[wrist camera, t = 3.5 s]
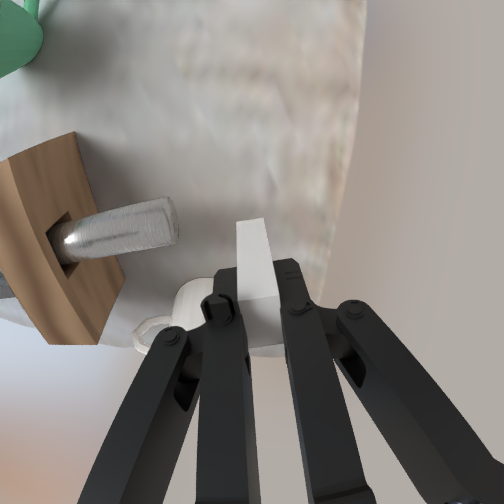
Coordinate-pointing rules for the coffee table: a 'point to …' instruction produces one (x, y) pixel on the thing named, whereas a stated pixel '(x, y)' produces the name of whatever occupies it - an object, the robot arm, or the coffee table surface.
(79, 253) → the axle
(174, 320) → the mug
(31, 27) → the mug
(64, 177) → the beam
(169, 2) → the coffee table surface
